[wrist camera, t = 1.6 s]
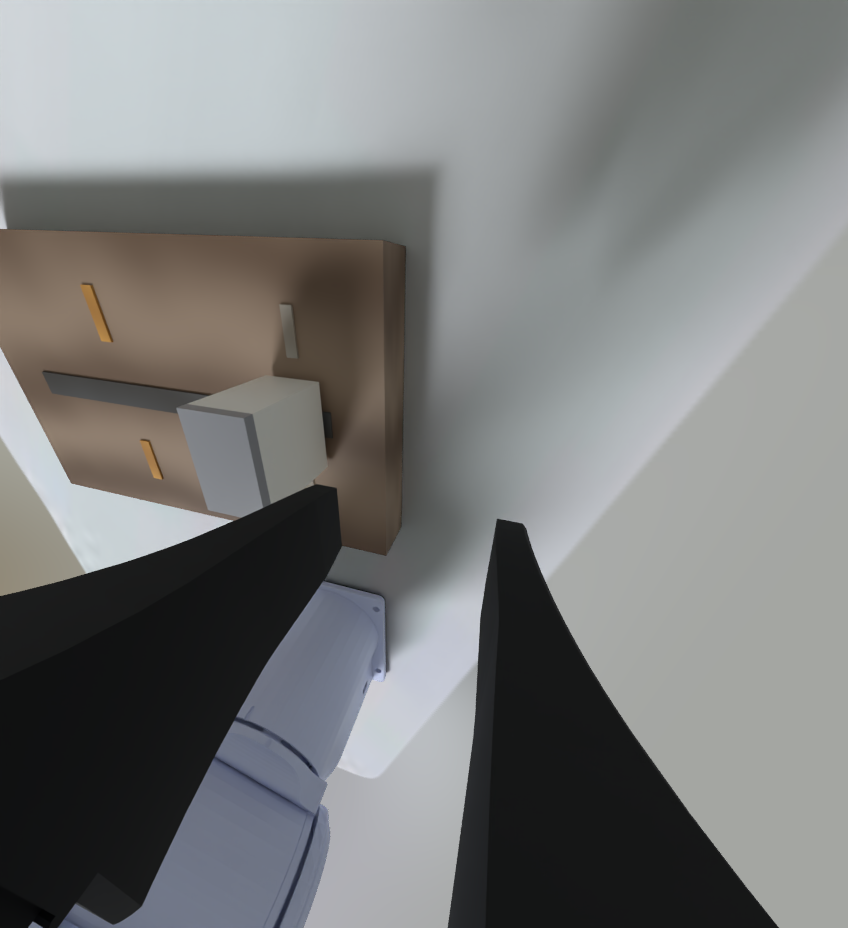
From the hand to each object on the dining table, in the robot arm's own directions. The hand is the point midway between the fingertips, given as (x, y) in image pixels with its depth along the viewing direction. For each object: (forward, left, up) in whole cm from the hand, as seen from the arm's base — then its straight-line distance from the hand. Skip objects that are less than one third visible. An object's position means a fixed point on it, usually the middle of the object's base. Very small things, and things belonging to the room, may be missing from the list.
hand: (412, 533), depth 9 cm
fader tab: (0, +7, -6) cm, 9 cm away
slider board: (0, +14, -8) cm, 16 cm away
